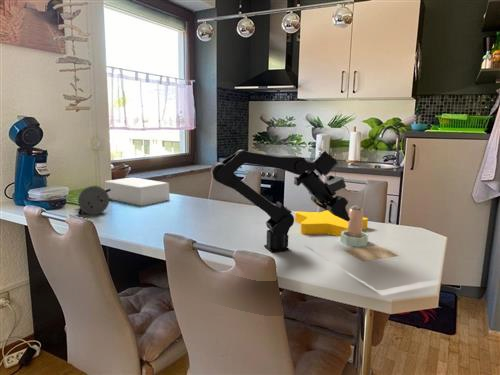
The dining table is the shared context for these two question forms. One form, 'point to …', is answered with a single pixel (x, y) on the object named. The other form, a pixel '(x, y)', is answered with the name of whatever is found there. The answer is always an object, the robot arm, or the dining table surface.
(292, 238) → the dining table surface
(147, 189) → the box
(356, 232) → the peach cylinder with balls
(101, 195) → the toy
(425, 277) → the dining table surface
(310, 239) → the dining table surface
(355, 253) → the board
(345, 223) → the star
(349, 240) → the bowl
